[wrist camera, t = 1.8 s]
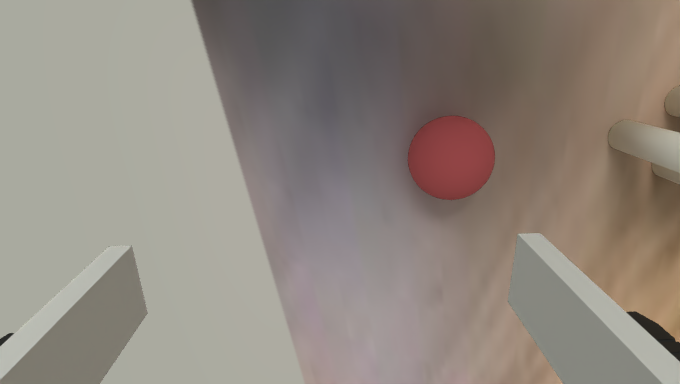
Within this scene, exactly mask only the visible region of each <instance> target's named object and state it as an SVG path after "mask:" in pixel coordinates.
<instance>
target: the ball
mask: <svg viewBox="0 0 680 384" xmlns="http://www.w3.org/2000/svg"><path fill="white" fill-rule="evenodd" d="M494 162H495V152H494V147H493V143H492V141H491V139H490V137H489V135H488V134H487V132H486V131H485V130H484V129H483V128H482V127H481V126H480V125H479V124H477V123H476V122H474V121H472V120H470V119H468V118H465V117H461V116H445V117H440V118H437V119H434V120H432V121H430V122H429V123H427V124H426V125H424V126H423V127H422V128H421V129H420V130H419V131H418V132H417V134H416V135H415V136H414V138H413V140H412V142H411V144H410V148H409V152H408V166H409V170H410V173H411V175H412V177H413V179H414V181H415V182H416V183H417V185H418V186H419V187H420V188H421V189H422V190H423V191H425V192H426V193H428V194H430V195H432V196H434V197H436V198H440V199H447V200H455V199H461V198H464V197H467V196H469V195H471V194H473V193H475V192H476V191H478V190H479V189H480V188H481V187H482V186H483V185H484V184H485V183H486V182H487V180H488V179H489V177H490V175H491V173H492V170H493V167H494Z"/></svg>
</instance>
